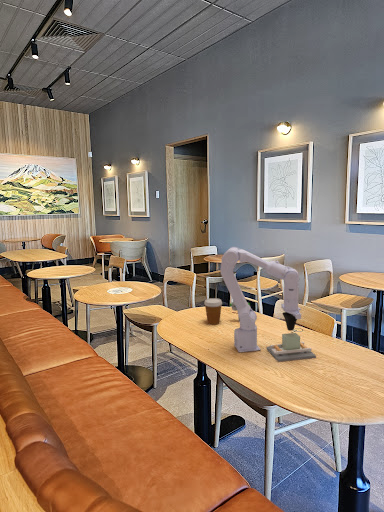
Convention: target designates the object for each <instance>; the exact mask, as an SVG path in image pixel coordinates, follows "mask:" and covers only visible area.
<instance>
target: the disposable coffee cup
mask: <svg viewBox="0 0 384 512" xmlns="http://www.w3.org/2000/svg"><path fill="white" fill-rule="evenodd" d="M203 304H204V307H205V312H206V313H205V314H206V321H207V324H209V325H214V326H215V325H218V324H221V323H220V322H221V312H222V311H221V310H222V305H223V302H222V299H220V298H214V297H213V298H211V297H210V298H207V299H205V300H204V303H203Z"/></svg>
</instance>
